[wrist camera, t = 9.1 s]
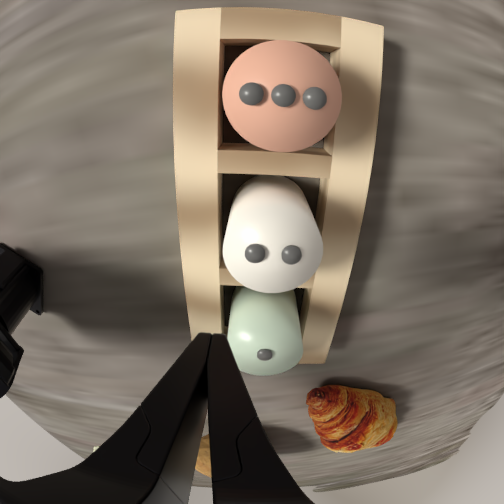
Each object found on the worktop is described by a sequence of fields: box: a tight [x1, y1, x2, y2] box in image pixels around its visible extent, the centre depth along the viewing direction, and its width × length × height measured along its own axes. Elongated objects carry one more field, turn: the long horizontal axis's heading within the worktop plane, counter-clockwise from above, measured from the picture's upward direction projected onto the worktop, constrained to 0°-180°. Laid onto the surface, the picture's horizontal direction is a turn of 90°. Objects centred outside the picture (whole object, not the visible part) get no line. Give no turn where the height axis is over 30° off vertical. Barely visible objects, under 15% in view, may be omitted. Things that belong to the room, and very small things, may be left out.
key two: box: [223, 175, 323, 293], centre depth 17 cm, size 5×5×6 cm
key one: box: [227, 286, 303, 376], centre depth 21 cm, size 5×5×6 cm
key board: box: [173, 7, 384, 364], centre depth 19 cm, size 25×11×2 cm, turn 178°
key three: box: [222, 40, 342, 152], centre depth 13 cm, size 5×5×6 cm
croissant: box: [306, 385, 397, 453], centre depth 30 cm, size 21×10×8 cm
